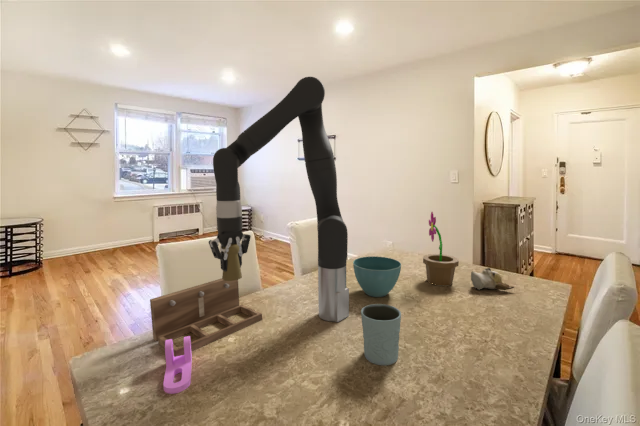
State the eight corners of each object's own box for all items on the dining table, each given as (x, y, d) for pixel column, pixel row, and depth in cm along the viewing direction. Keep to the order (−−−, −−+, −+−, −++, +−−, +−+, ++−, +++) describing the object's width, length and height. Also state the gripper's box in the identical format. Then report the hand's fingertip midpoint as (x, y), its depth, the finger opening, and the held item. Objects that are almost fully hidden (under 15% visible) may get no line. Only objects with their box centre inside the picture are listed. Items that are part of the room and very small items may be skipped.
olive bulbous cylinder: (236, 281, 97) (235, 246, 96) (218, 280, 99) (216, 245, 97) (245, 275, 103) (243, 241, 102) (227, 273, 105) (226, 240, 103)
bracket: (168, 363, 81) (166, 337, 80) (191, 358, 83) (190, 333, 82) (162, 396, 69) (159, 366, 68) (190, 390, 71) (188, 361, 70)
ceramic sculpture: (465, 263, 133) (501, 265, 133) (463, 283, 134) (498, 285, 135) (479, 271, 122) (517, 273, 123) (476, 293, 124) (514, 295, 124)
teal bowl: (406, 290, 128) (407, 260, 126) (390, 306, 113) (391, 272, 111) (364, 281, 138) (365, 254, 136) (344, 296, 123) (344, 265, 121)
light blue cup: (392, 372, 77) (393, 324, 75) (353, 359, 82) (354, 314, 80) (405, 351, 85) (406, 308, 84) (369, 341, 90) (370, 300, 89)
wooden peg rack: (262, 319, 104) (260, 284, 102) (176, 358, 83) (173, 314, 82) (236, 307, 114) (234, 274, 112) (153, 339, 93) (149, 299, 91)
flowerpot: (418, 275, 145) (421, 209, 141) (451, 276, 143) (455, 209, 139) (426, 287, 131) (428, 214, 127) (462, 288, 129) (466, 214, 125)
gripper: (214, 218, 91) (217, 277, 93) (255, 213, 101) (257, 266, 103) (201, 216, 95) (204, 272, 98) (241, 211, 106) (243, 262, 108)
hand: (231, 269), depth 101 cm, fingers closed on olive bulbous cylinder, 4 cm apart
